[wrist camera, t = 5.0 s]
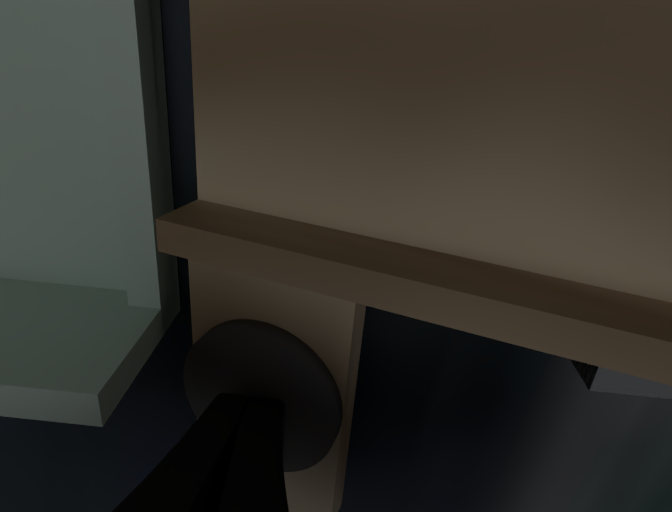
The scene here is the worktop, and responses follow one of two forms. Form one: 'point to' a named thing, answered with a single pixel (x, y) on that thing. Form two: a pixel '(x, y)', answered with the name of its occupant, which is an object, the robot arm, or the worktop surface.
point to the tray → (81, 205)
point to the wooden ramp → (420, 194)
